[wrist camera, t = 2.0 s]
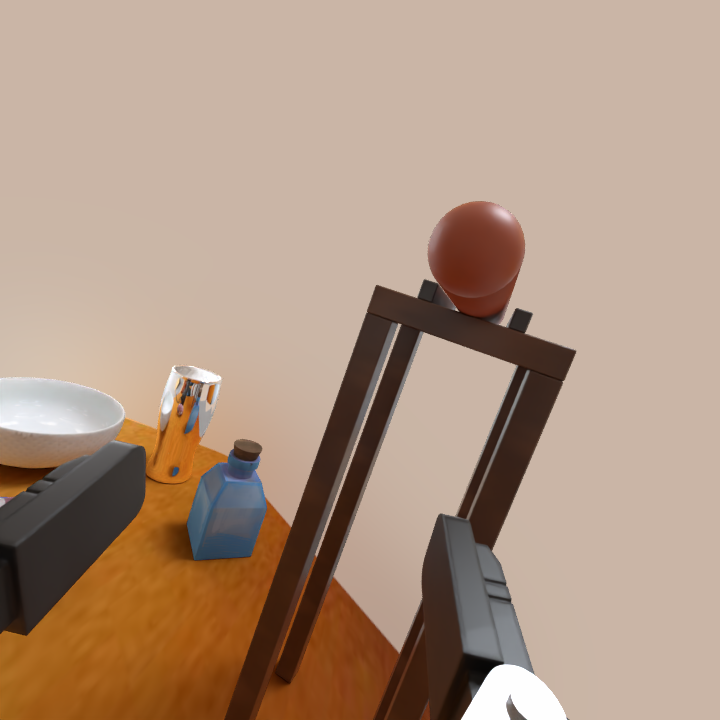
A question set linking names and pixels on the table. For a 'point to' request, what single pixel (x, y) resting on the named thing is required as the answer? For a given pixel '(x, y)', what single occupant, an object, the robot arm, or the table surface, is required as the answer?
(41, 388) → the cereal bowl
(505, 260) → the sausage
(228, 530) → the perfume bottle
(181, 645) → the table surface
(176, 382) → the silver metal tumbler
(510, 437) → the shelf stand
